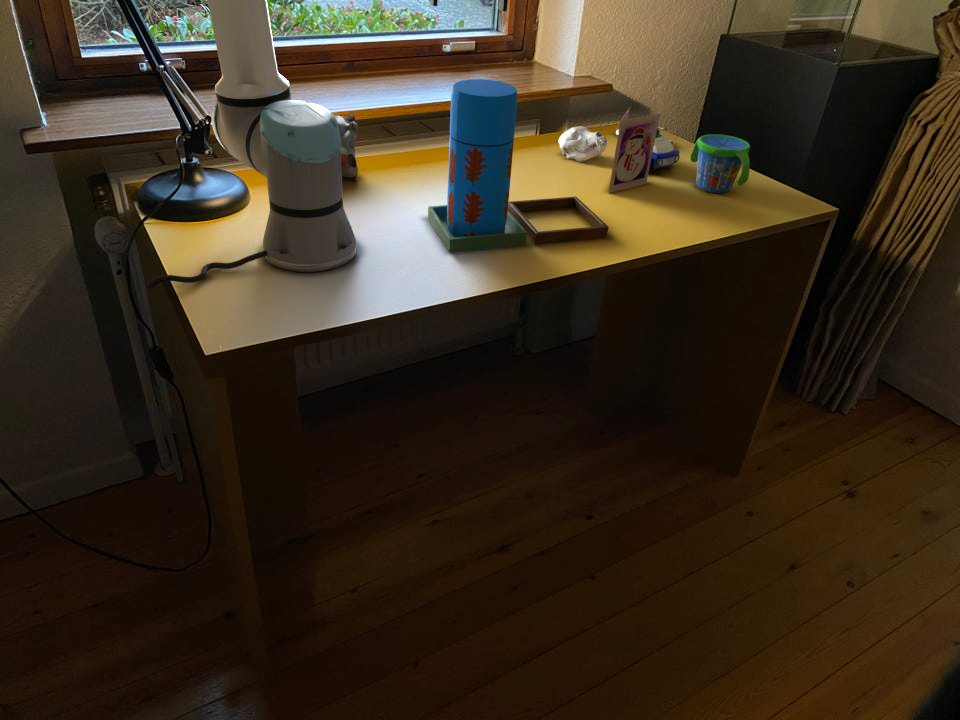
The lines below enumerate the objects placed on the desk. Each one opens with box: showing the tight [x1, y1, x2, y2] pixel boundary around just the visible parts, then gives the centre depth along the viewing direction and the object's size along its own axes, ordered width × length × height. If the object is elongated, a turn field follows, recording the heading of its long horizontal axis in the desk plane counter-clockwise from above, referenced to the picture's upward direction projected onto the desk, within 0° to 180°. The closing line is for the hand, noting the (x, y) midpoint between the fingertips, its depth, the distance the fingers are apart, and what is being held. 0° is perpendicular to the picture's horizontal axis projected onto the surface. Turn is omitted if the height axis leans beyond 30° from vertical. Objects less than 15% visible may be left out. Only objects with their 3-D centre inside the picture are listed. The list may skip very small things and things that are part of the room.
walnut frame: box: [508, 196, 610, 245], centre depth 138 cm, size 14×14×2 cm
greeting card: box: [608, 106, 661, 194], centre depth 154 cm, size 11×7×15 cm, turn 126°
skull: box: [557, 125, 608, 163], centre depth 168 cm, size 8×9×12 cm
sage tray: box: [427, 204, 528, 253], centre depth 133 cm, size 14×14×2 cm
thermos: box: [446, 78, 518, 237], centre depth 127 cm, size 11×11×25 cm
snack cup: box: [689, 133, 751, 194], centre depth 156 cm, size 16×10×10 cm
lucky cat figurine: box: [334, 113, 359, 180], centre depth 149 cm, size 15×12×14 cm
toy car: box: [648, 125, 681, 173], centre depth 166 cm, size 9×12×10 cm
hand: (468, 8), depth 137 cm, fingers open, 13 cm apart
